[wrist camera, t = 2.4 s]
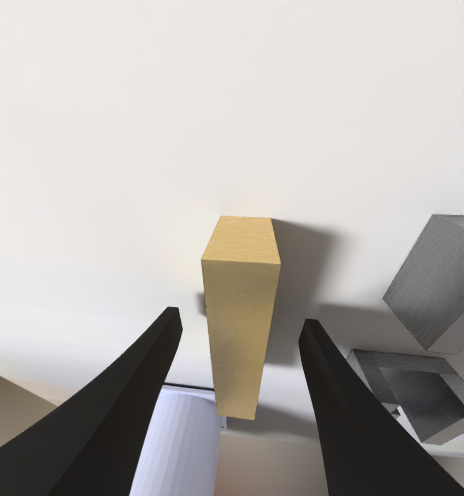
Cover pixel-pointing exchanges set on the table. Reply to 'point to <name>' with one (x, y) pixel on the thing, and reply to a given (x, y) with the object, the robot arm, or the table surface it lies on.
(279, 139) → the table surface
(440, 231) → the right chain end
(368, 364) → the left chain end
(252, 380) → the tan wooden beam
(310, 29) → the table surface
